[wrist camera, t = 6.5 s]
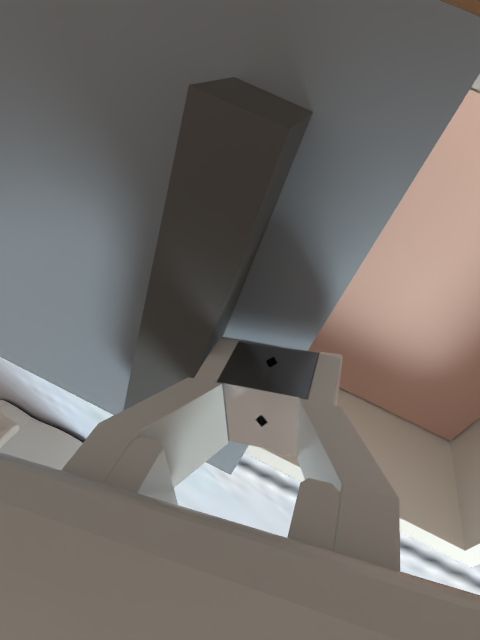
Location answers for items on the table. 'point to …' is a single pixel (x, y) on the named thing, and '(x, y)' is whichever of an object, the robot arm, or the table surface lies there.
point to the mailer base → (419, 347)
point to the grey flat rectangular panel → (204, 173)
